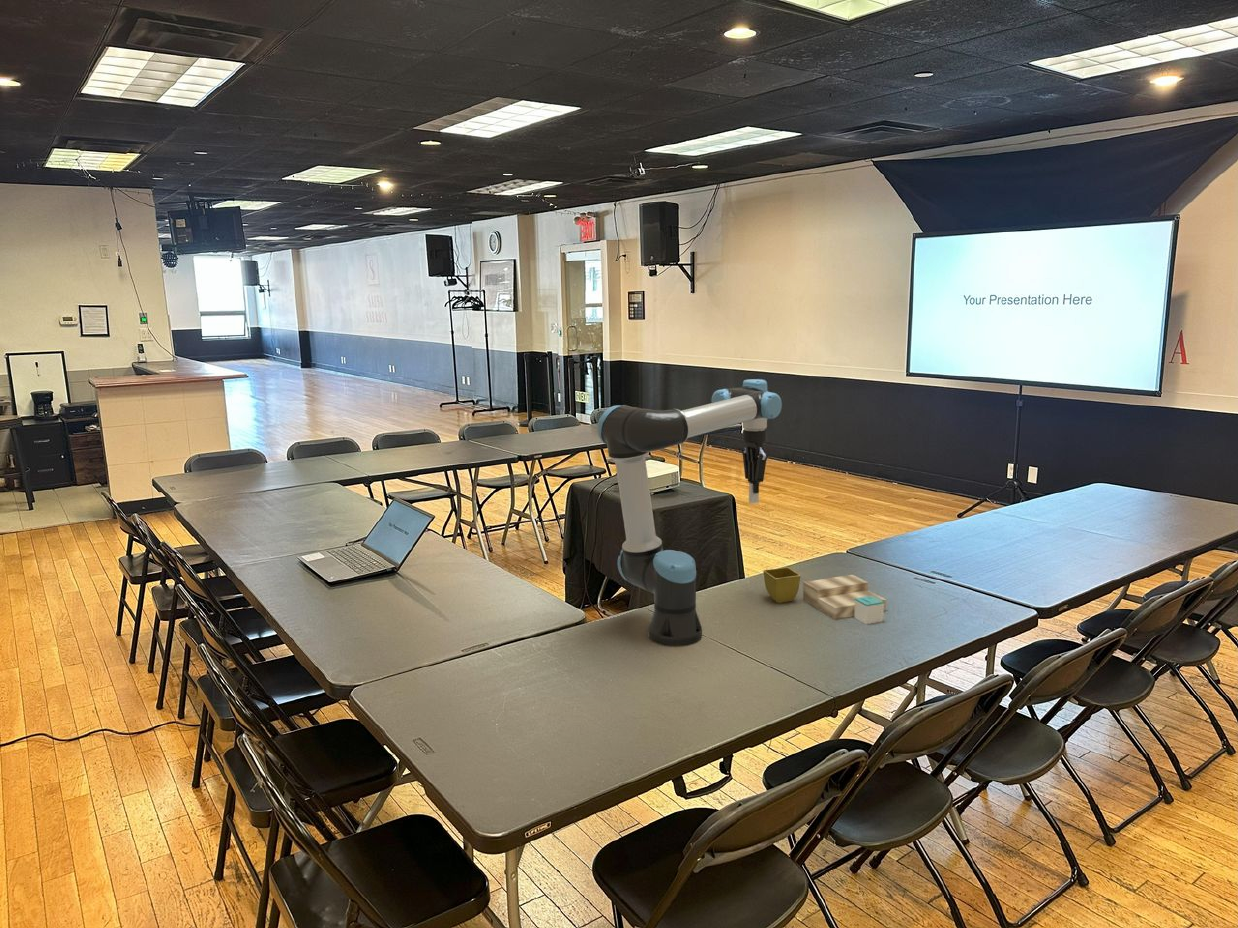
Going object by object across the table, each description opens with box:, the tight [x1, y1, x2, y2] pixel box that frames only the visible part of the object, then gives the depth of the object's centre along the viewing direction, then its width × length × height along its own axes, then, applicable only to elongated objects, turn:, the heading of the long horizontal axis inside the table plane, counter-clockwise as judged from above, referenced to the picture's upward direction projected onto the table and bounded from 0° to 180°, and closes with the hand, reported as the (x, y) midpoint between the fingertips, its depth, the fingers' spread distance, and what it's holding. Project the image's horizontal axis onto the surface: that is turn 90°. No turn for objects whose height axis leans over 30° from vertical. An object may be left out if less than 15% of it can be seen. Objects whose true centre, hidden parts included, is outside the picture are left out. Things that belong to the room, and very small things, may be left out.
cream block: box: [853, 596, 885, 625], centre depth 233 cm, size 6×6×6 cm
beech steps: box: [802, 574, 887, 620], centre depth 244 cm, size 18×17×6 cm
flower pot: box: [762, 566, 801, 604], centre depth 250 cm, size 9×9×9 cm
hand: (753, 502), depth 254 cm, fingers closed
